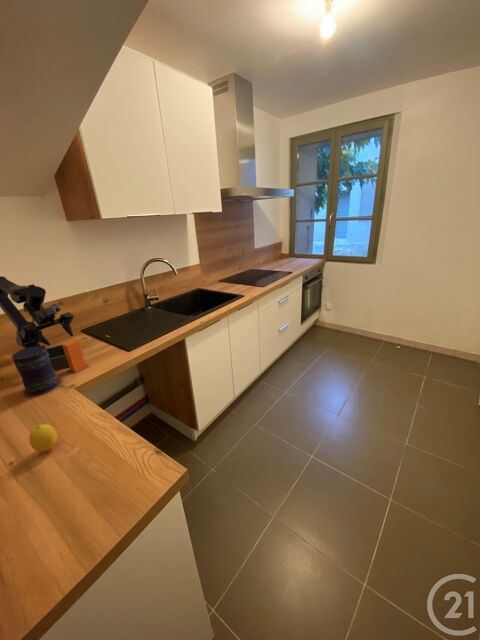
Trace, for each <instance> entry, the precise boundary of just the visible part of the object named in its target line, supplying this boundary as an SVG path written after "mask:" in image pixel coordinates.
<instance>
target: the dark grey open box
mask: <svg viewBox="0 0 480 640" xmlns="http://www.w3.org/2000/svg"><path fill="white" fill-rule="evenodd" d="M46 349H47V352H48V354H49V357H50V360H51V361H50V362H51V365H52V368H53V369H54V371H55V372H56V371H59V370H63V369H66V368H70V367H69V364H68V361H67V358H66V355H65V352H64V349H63V346H62V344H60V345H59V344H58V345H55V346H51V347H46Z"/></svg>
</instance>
